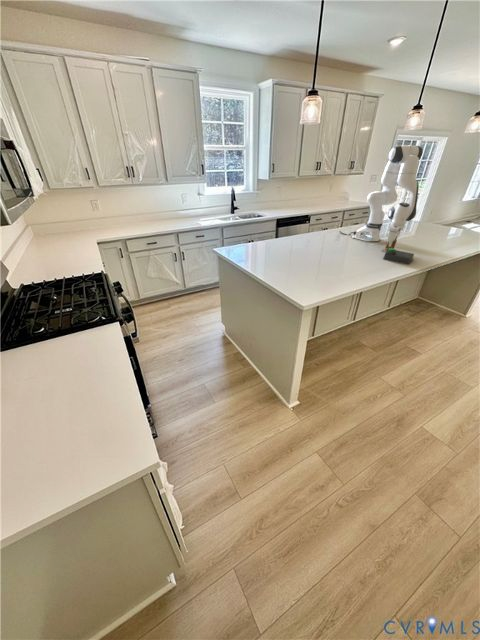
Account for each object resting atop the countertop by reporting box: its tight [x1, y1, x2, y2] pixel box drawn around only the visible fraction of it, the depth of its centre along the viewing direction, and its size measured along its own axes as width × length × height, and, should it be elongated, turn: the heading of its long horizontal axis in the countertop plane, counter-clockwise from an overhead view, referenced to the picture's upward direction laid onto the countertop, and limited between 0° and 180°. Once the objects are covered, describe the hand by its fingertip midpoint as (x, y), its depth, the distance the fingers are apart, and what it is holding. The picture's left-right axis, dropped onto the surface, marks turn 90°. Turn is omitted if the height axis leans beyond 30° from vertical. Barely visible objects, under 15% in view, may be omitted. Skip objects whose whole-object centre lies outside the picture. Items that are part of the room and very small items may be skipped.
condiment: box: [383, 237, 398, 253], centre depth 198 cm, size 7×8×12 cm
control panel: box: [383, 249, 415, 265], centre depth 185 cm, size 17×13×6 cm
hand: (391, 245), depth 198 cm, fingers closed on condiment, 6 cm apart
